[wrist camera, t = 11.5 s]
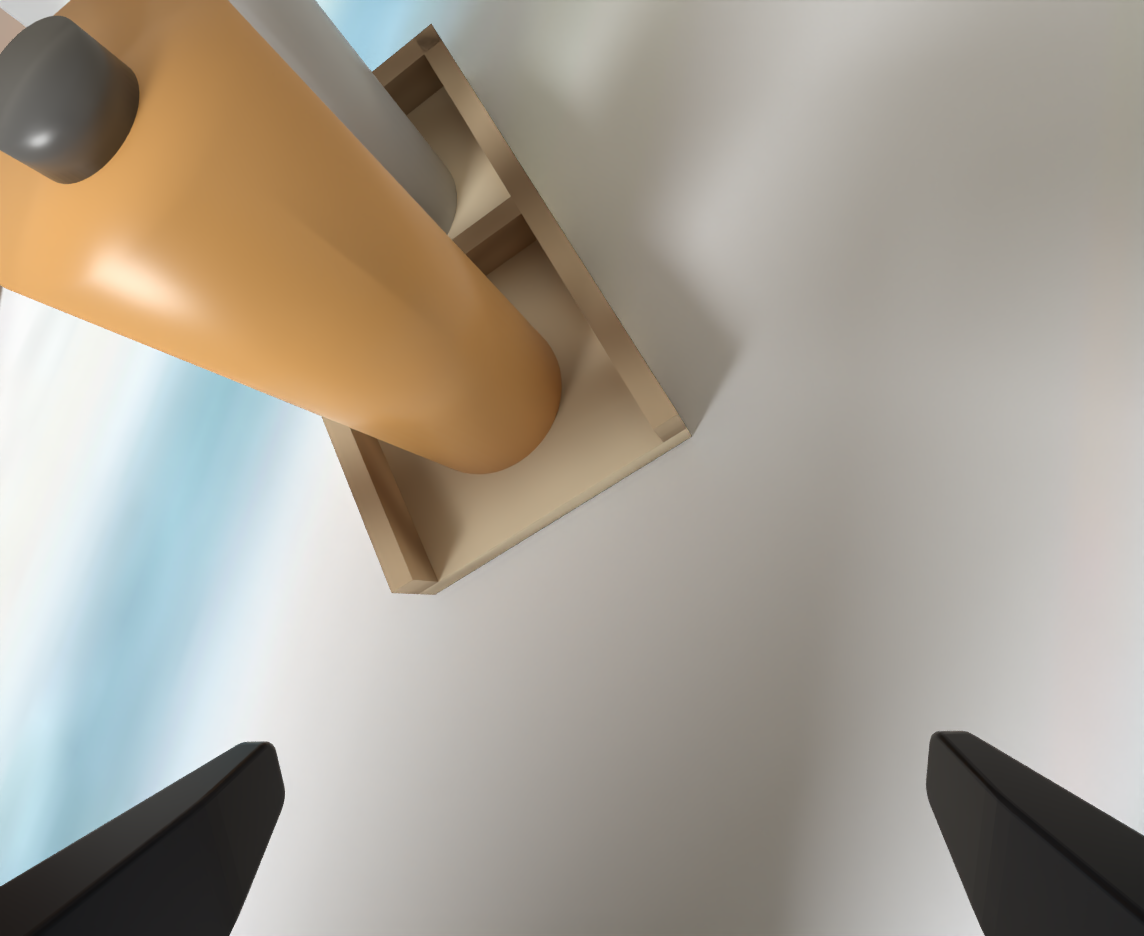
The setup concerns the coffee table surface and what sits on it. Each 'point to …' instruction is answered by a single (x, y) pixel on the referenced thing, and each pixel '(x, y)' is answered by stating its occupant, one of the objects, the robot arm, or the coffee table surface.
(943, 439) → the coffee table surface
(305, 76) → the grey bottle
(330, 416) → the orange bottle
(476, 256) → the slot rack
